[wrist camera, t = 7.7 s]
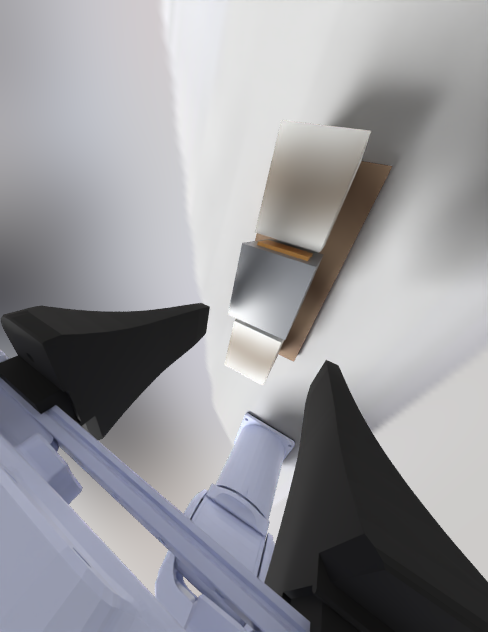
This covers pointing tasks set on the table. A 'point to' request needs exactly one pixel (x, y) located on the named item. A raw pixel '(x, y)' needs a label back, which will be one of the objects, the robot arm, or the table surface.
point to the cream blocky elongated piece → (309, 225)
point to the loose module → (272, 284)
